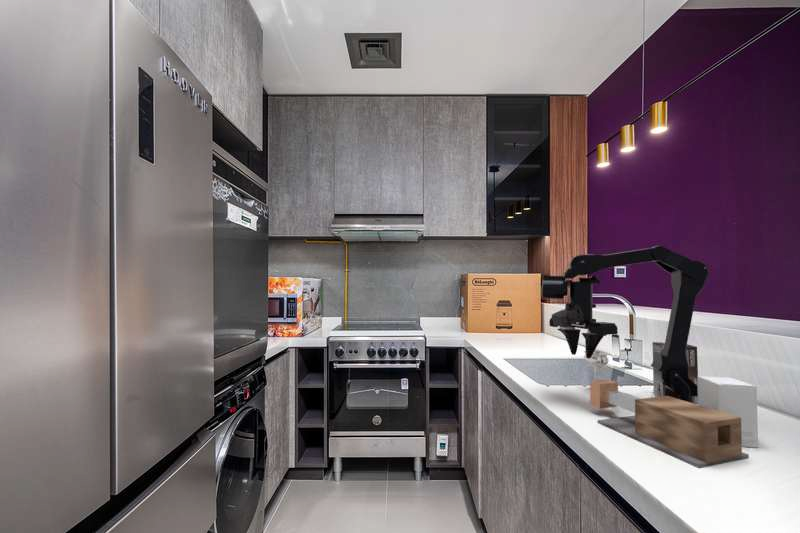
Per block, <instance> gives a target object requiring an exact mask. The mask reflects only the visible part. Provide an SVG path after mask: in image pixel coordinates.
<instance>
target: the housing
mask: <svg viewBox="0 0 800 533" xmlns="http://www.w3.org/2000/svg"><path fill="white" fill-rule="evenodd" d="M597 424H599V425H602V426H604V427H606V428H608V429H611V430H612V431H615V432H617V433H619V434H622V435H624V436H627V437H629V438H630V439H633V440H635V441H638V442H640V443H642V444H644V445H645V446H649V447H650V448H652V449H653V448H654V449H656V450H658V451H660V452H663V453H665V454H666V455H669V456H671V457H673V458H676V459H679V460H680V461H683V462H684V463H687V464H690V465H692V466H694V467H696V468H698V469H701V468H704V467H705V468H707V467H710V466H715V465H719V464H724V463H729V462H730V463H731V462H734V461H739V460H745V459H749V456H750V455H749V453H746V452H743V446H742V434H741V417H737V416H734V415H730V414H727V413H724V412H720V411H717V410H714V409H710V408H707V407H704V406H700V405H698V404H696V403H695V404H693V403H690V402H687V401H683V400H680V399H677V398H673V397H670V396H660V397H656V396H653V397H652V396H651V397H645V398H644V397H643V398H641V399H635V412H634V415H628V416H627V415H626V416H621V417H611V418H604V419H598V420H597Z"/></svg>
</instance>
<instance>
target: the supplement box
mask: <svg viewBox="0 0 800 533" xmlns="http://www.w3.org/2000/svg"><path fill="white" fill-rule="evenodd" d="M697 380H698V404H697V405H700V406H704V407H707V408H710V409H714V410H717V411H720V412H724V413H727V414H730V415H734V416H737V417H741V434H742V448H743V447H746V448H752V449H753V448H757V449H758V448H759V429H758V428H759V427H758V424H759V423H758V396H757V395H758V393H757V388H758V387H757V386H756V385H753V384H751V383H748V382H745V381H742V380H740V379H739V380H738V378H737V379H736V378H733V377H725V376H724V377H723V376H722V377H721V376H705V375H704V376H703V375H698V376H697Z"/></svg>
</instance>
